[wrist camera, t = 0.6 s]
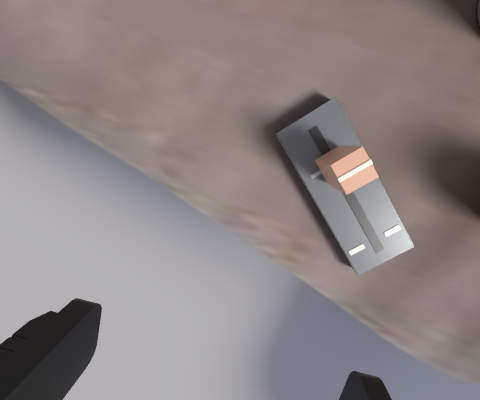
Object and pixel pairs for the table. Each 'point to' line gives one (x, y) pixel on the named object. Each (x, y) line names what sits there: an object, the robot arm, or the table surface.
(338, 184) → the fader knob
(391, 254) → the fader console
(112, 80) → the table surface
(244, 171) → the table surface
